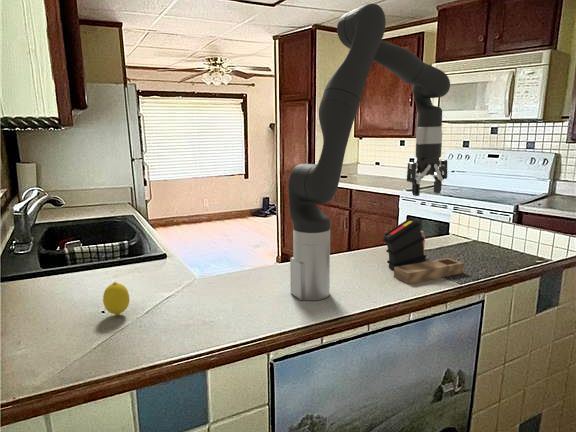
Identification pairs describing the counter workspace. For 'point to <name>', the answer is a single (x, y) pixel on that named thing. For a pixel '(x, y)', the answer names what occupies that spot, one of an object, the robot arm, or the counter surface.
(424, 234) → the pink cylinder
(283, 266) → the counter surface
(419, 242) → the magazine
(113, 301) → the lemon
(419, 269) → the joist
